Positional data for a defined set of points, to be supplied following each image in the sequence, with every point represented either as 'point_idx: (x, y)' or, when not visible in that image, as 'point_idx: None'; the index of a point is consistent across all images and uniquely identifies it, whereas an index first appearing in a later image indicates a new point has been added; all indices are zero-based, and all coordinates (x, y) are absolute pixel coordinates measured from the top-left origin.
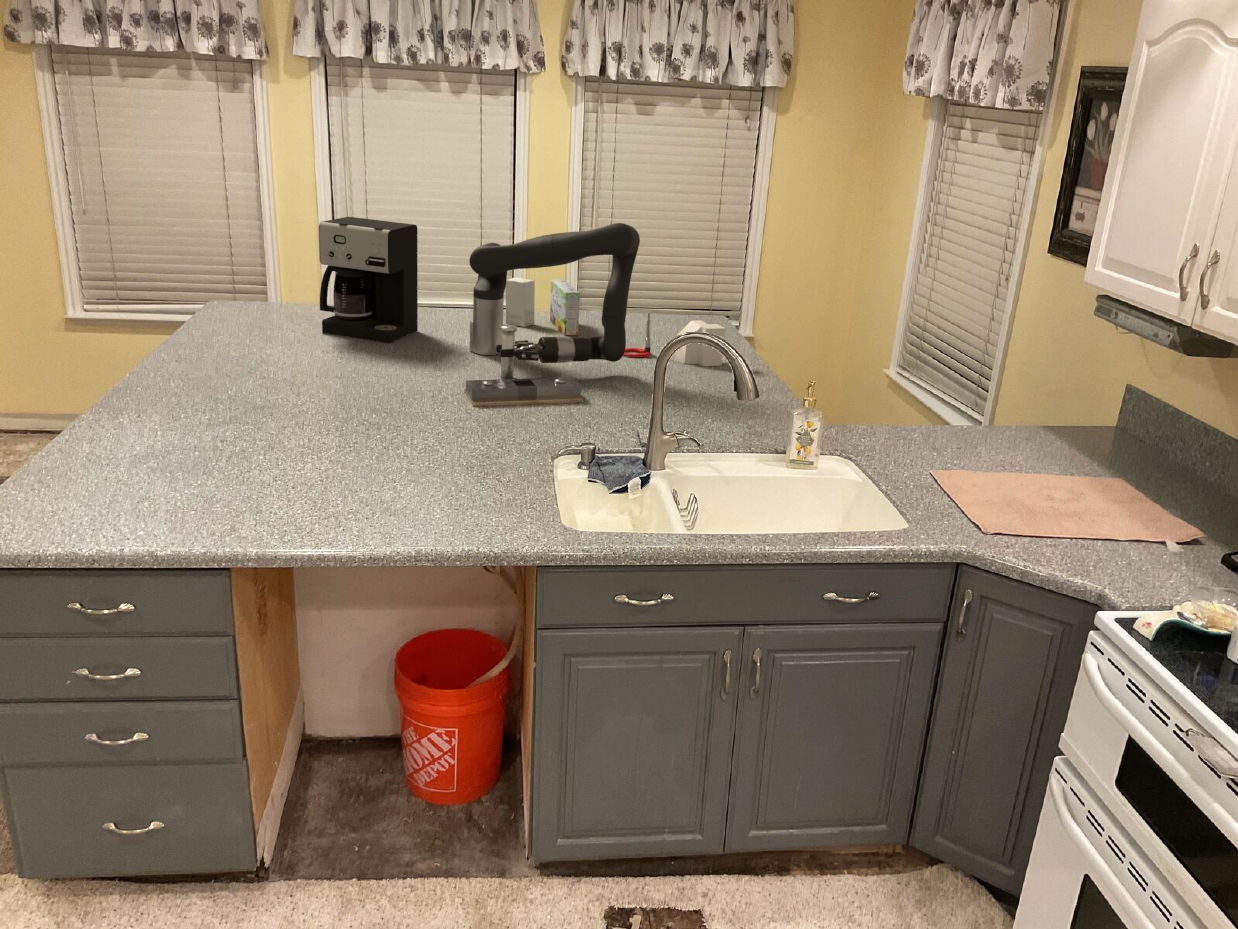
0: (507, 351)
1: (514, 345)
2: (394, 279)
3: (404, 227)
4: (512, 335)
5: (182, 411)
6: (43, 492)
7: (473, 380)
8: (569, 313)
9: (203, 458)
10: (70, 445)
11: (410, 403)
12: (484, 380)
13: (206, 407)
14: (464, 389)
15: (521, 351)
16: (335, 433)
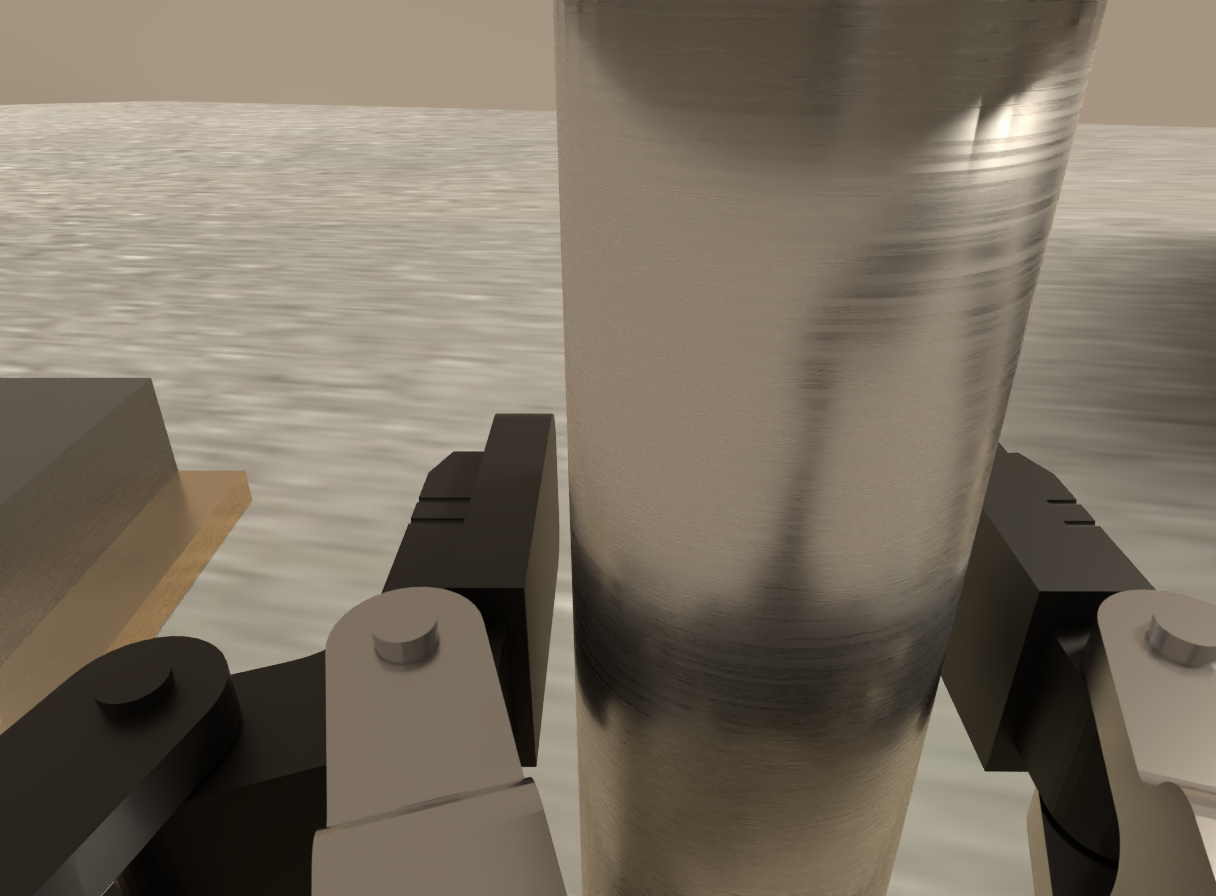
0: (440, 510)
1: (715, 592)
2: None
3: None
4: (578, 117)
5: (439, 133)
6: (105, 107)
7: (105, 409)
8: None
9: (94, 144)
10: (307, 107)
11: (215, 319)
12: (23, 466)
13: (454, 142)
14: (241, 474)
15: (24, 726)
16: (43, 214)
